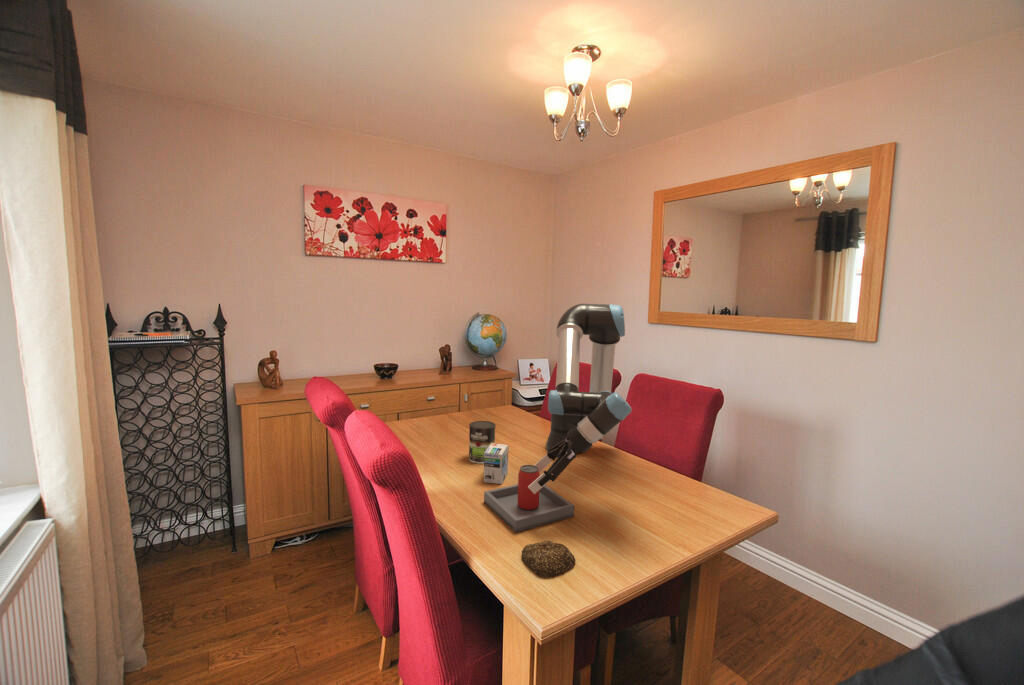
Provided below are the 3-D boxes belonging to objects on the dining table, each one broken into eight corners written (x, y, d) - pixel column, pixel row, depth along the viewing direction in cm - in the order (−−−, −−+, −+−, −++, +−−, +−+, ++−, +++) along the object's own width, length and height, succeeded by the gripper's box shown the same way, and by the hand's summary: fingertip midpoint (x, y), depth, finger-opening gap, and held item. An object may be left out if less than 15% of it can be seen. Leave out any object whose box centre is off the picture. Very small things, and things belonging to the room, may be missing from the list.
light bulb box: (501, 484, 153) (502, 454, 152) (482, 482, 155) (483, 452, 153) (508, 472, 164) (509, 444, 162) (490, 470, 165) (491, 442, 164)
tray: (537, 489, 150) (538, 479, 150) (574, 516, 133) (574, 505, 132) (484, 502, 140) (484, 491, 140) (515, 532, 123) (516, 520, 123)
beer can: (516, 501, 139) (517, 464, 138) (537, 500, 140) (538, 464, 139) (518, 511, 133) (519, 472, 132) (540, 511, 133) (541, 472, 132)
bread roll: (537, 582, 103) (538, 562, 102) (515, 553, 114) (516, 534, 113) (584, 570, 108) (585, 551, 107) (559, 543, 119) (560, 525, 118)
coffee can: (490, 465, 170) (491, 429, 168) (465, 462, 172) (465, 426, 171) (497, 455, 180) (498, 421, 178) (473, 453, 182) (474, 419, 181)
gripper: (597, 459, 119) (539, 509, 123) (590, 430, 144) (543, 472, 147) (577, 439, 119) (520, 489, 122) (574, 413, 144) (527, 455, 147)
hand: (532, 480), depth 135 cm, fingers open, 13 cm apart
